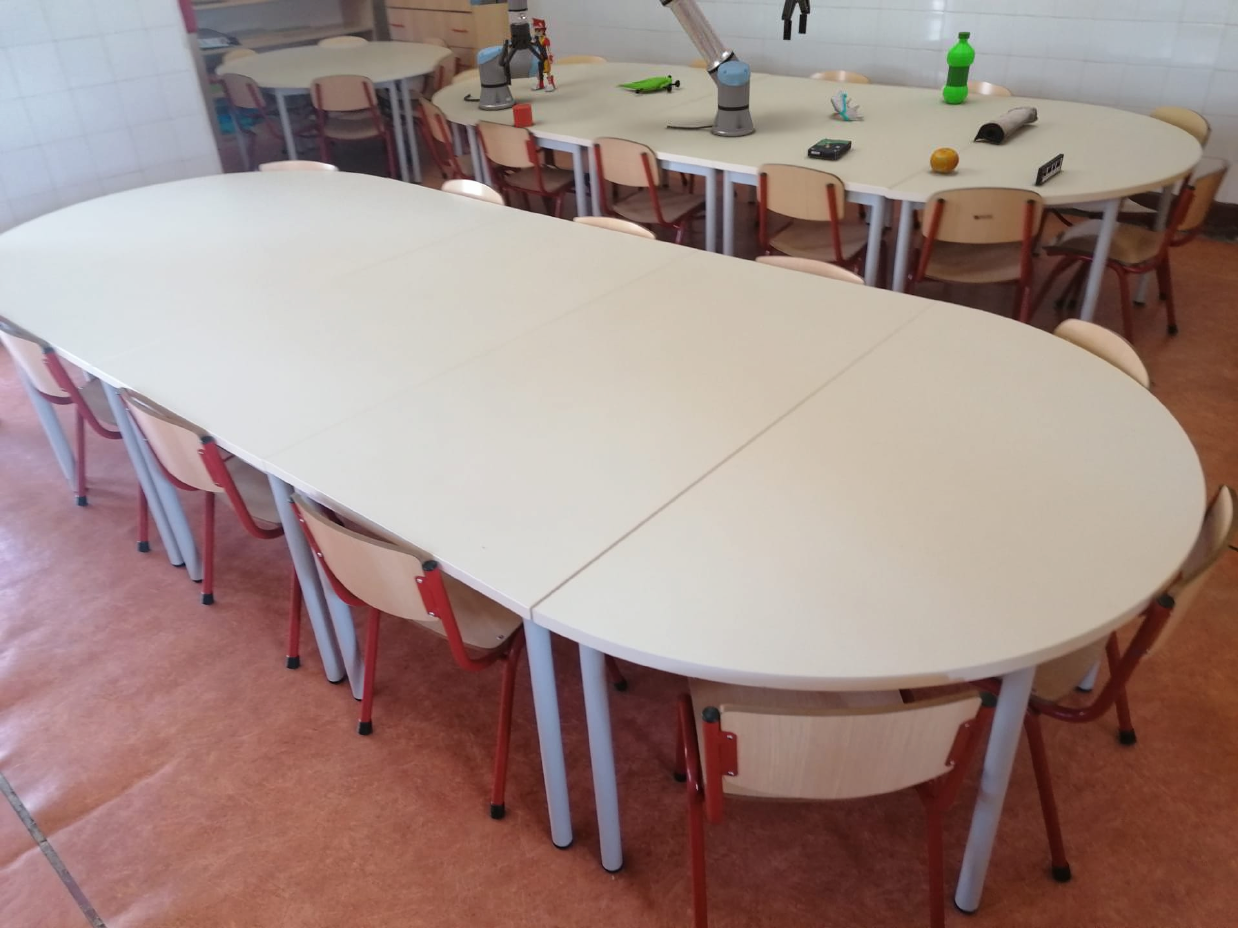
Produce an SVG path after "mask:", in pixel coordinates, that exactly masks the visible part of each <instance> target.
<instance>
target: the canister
mask: <svg viewBox="0 0 1238 928" xmlns="http://www.w3.org/2000/svg"><path fill="white" fill-rule="evenodd" d="M511 108H512V115H513V116H512V117H513V125H514V127H516V128H526V127H527V128H528V127H532V126H533V125H534V120H533V119H534V118H533V111H532V109H533V108H532V105H531V104H530V103H529V104H528V103H519V104H515V105H514V106H512V107H511Z"/></svg>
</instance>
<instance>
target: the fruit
mask: <svg viewBox="0 0 1238 928" xmlns="http://www.w3.org/2000/svg"><path fill="white" fill-rule="evenodd" d="M959 163H960V156H959V154H958V152H957V151H956V150H955V149H953V148H951V147H942V148H938V149H936V150H934V151H933V153H932V154H931V155H930V159H929V166H930V168H931V169H932V170H933V171H934V172H936V173H939V174H940V173H943V174H944V173H945V174H946V173H951V172H953V171H954V170H956V168H957V167H958V165H959Z"/></svg>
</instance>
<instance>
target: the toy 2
mask: <svg viewBox="0 0 1238 928" xmlns="http://www.w3.org/2000/svg"><path fill="white" fill-rule="evenodd" d="M673 80H674V79H673V77H672V75H671V74H668V75H667V76H656V77H651V78H649V77H648V78H646V79H642V80H638V81H632V82H630V83H621V84H617V86H618V87H623V88H625V89H631V90H635V94H637V95H638V94H640V92H642V91H647V92H649V91H654V90H666V92H668V93H672V91H673V86H675V88H680V87H681V80H680V79H677V80H675V81H674V82H673Z"/></svg>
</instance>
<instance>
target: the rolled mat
mask: <svg viewBox="0 0 1238 928" xmlns="http://www.w3.org/2000/svg"><path fill="white" fill-rule="evenodd" d="M1038 120H1039V117H1038V110H1037V108H1036V107H1031V106H1021V107H1015V108H1014V107H1013V108H1011V109H1009V110H1008V111H1007V112H1006V113H1004V114H1002V115H1000V116H997V117H996V118H994V119H991V120H989V121H988V122H986V123H984V124H982V125H981V126H980V128H979V129H978V130H977V133H976V135H975V136H974V139H973V141H974V142H976V141H979V140H984V141H986V142H987V143H990V144H995V145H1001V144H1002V143H1003V142H1004V141H1005V140H1006V139H1007V138H1009V136H1010V135H1011V134H1012V133H1014V132H1015V131H1016V130H1018V129H1019V128H1020V127H1022V126H1023V125H1027V124H1034V123H1036V122H1037V121H1038Z"/></svg>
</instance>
